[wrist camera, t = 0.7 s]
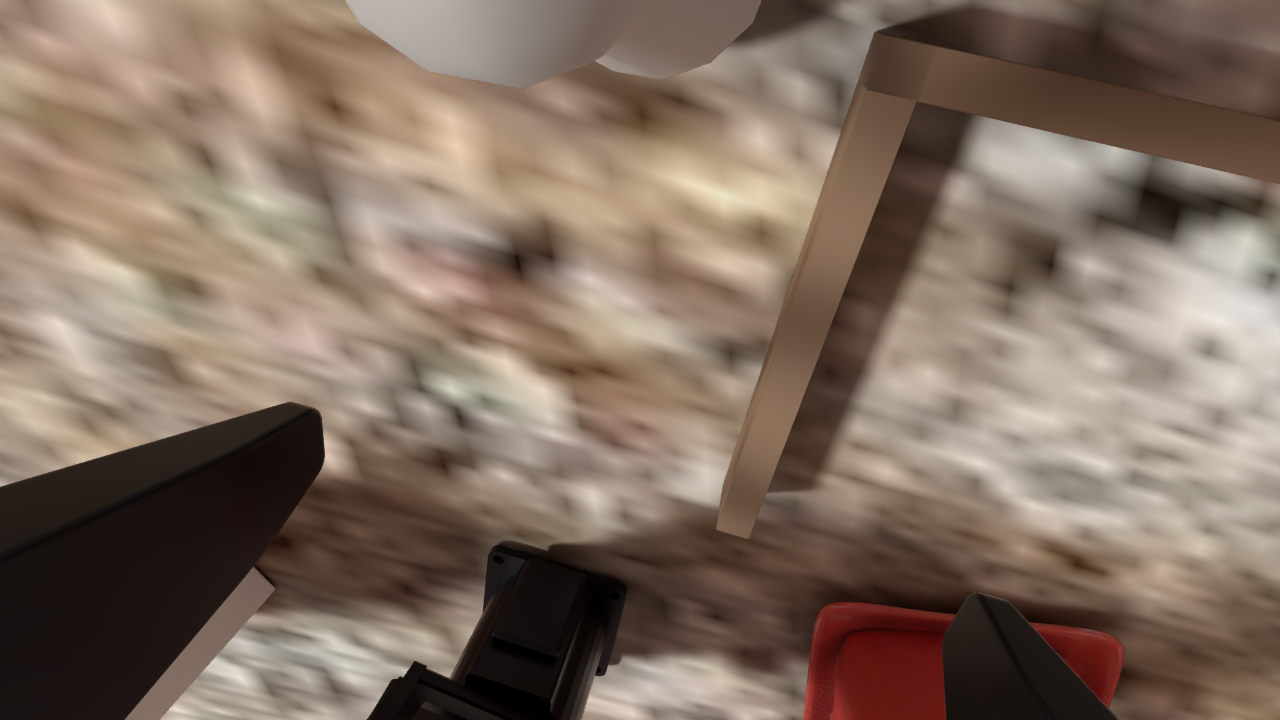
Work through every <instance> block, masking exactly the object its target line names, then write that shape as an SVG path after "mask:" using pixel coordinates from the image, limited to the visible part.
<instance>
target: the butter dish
mask: <svg viewBox="0 0 1280 720" xmlns="http://www.w3.org/2000/svg"><path fill="white" fill-rule="evenodd" d="M955 616H956V614H949V613H939V612H931V611H922V610H913V609H907V608H900V607H893V606H887V605H880V604H870V603H857V602H837V603H831V604H827V605H825V606H824V607H823V608H822V609H821V610H820V612H819V613H818V615H817V619H816V622H815V626H814V631H813V636H812V643H811V650H810V659H809V670H808V678H807V688H806V699H805V711H804V720H946V714H945V696H944V678H943V660H942V643H943V638H944V635H945V633H946V631H947V629H948V627H949V626H950V624H951V622H952V621H953V619H954V618H955ZM1029 623H1030V624H1031V625H1032V626H1033V628H1034V629H1035V630H1036V631H1037V632H1038V633H1039V634H1040V635H1041V636H1042V637H1043V638H1044V639H1045V641H1046V642H1047V643H1048V644H1049V645H1050V646H1051V647H1052V648H1053V649H1054V650H1055V651H1056V652H1057V654H1058V655H1059V656H1060V657H1061V658H1062V659H1063V660H1064V661H1065V662H1066V663H1067V664H1068V665H1069V666H1070V668H1071V669H1072V670H1073V671H1074V672H1075V673H1076V674H1077V675H1078V676H1079V677H1080V678H1081V679H1082V681H1083V682H1084V683H1085V684H1086V685H1087V686H1088V687H1089V688H1090V689H1091V690H1092V691H1093V692H1094V694H1095V695H1096V696H1097V697H1098V698H1099V699H1100V700H1101V701H1102V702H1103V703H1104V704H1105V705H1106V707H1107V708H1109V705H1110V703H1111V700H1112V697H1113V694H1114V691H1115V689H1116V685H1117V683H1118V680H1119V677H1120V673H1121V670H1122V665H1123V662H1124V648H1123V645H1122V643H1121V642H1120V641H1119V639H1118V638H1117V637H1115V636H1113V635H1111V634H1108V633H1106V632H1101V631H1097V630H1092V629H1087V628H1080V627H1070V626H1063V625H1054V624H1042V623H1032V622H1029Z"/></svg>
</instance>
